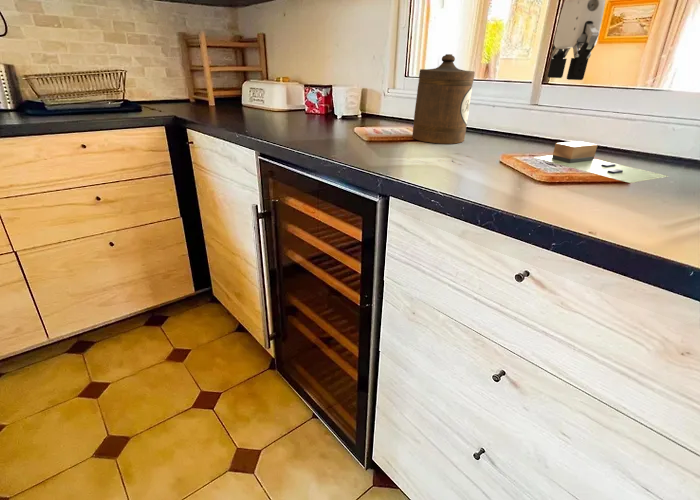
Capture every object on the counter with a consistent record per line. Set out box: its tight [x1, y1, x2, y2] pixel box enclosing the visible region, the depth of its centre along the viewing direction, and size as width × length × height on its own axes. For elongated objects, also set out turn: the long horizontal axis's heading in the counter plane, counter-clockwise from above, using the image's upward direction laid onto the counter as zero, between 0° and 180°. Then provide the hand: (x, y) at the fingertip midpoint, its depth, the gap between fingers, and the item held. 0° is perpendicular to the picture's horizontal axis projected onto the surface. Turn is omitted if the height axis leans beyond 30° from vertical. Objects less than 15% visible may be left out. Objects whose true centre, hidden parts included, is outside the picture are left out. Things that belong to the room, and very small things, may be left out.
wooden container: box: [411, 53, 476, 145], centre depth 110 cm, size 15×15×22 cm
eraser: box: [552, 140, 598, 163], centre depth 88 cm, size 4×8×4 cm, turn 116°
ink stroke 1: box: [601, 162, 617, 167], centre depth 84 cm, size 1×3×1 cm, turn 117°
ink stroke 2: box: [608, 169, 623, 174], centre depth 79 cm, size 1×3×1 cm, turn 116°
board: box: [532, 154, 670, 184], centre depth 84 cm, size 22×13×1 cm, turn 26°
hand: (564, 78), depth 86 cm, fingers open, 9 cm apart
